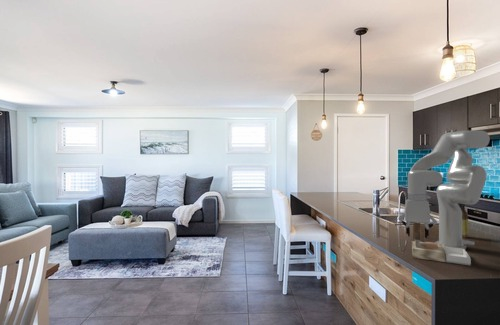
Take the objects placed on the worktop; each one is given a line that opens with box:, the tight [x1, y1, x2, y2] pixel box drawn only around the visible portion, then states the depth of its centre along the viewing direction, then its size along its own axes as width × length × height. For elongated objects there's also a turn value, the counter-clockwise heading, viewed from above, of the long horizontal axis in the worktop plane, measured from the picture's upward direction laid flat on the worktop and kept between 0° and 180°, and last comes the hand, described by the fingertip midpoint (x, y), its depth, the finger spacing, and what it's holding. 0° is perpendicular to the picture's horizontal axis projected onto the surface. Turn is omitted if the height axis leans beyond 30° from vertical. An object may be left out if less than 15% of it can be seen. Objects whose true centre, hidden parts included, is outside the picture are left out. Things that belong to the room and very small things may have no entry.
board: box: [411, 240, 447, 263], centre depth 127 cm, size 12×14×4 cm
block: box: [424, 241, 438, 249], centre depth 127 cm, size 4×4×2 cm
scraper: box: [413, 222, 421, 248], centre depth 129 cm, size 2×9×10 cm, turn 151°
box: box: [443, 247, 472, 267], centre depth 122 cm, size 8×14×3 cm, turn 151°
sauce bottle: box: [457, 203, 470, 239], centre depth 158 cm, size 7×6×20 cm
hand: (417, 236), depth 129 cm, fingers open, 6 cm apart
